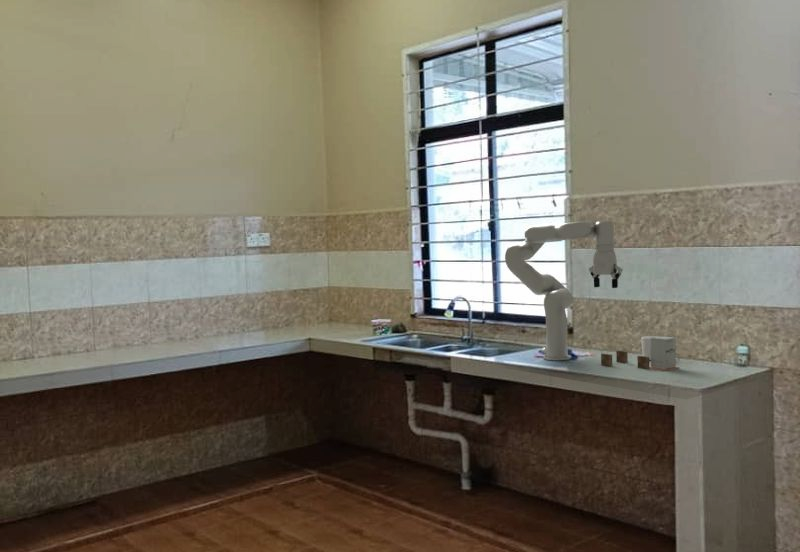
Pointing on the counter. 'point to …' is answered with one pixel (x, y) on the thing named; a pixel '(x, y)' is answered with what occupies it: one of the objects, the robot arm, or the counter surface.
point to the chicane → (624, 359)
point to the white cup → (646, 346)
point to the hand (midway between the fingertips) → (605, 287)
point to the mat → (664, 369)
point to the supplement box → (663, 352)
